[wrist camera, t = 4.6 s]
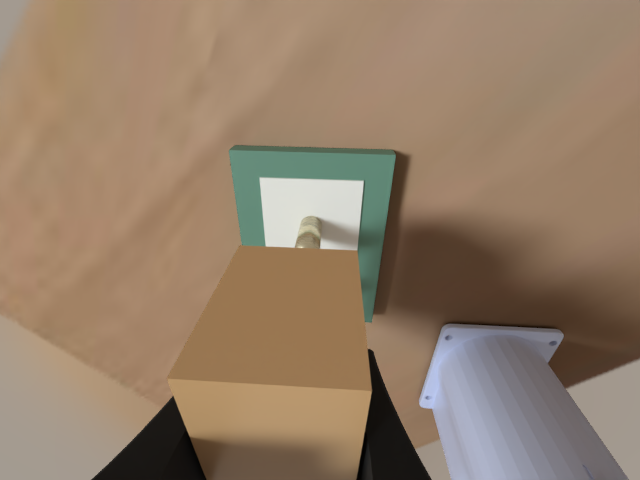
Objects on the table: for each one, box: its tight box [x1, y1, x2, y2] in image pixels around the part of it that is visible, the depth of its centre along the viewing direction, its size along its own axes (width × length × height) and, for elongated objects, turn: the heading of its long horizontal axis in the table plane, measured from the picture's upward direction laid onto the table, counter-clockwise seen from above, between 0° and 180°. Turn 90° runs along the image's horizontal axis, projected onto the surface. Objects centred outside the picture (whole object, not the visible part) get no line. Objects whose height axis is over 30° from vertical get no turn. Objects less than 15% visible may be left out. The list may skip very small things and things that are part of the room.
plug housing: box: [167, 245, 372, 480], centre depth 10 cm, size 7×4×5 cm, turn 179°
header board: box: [229, 145, 396, 323], centre depth 16 cm, size 11×8×4 cm
